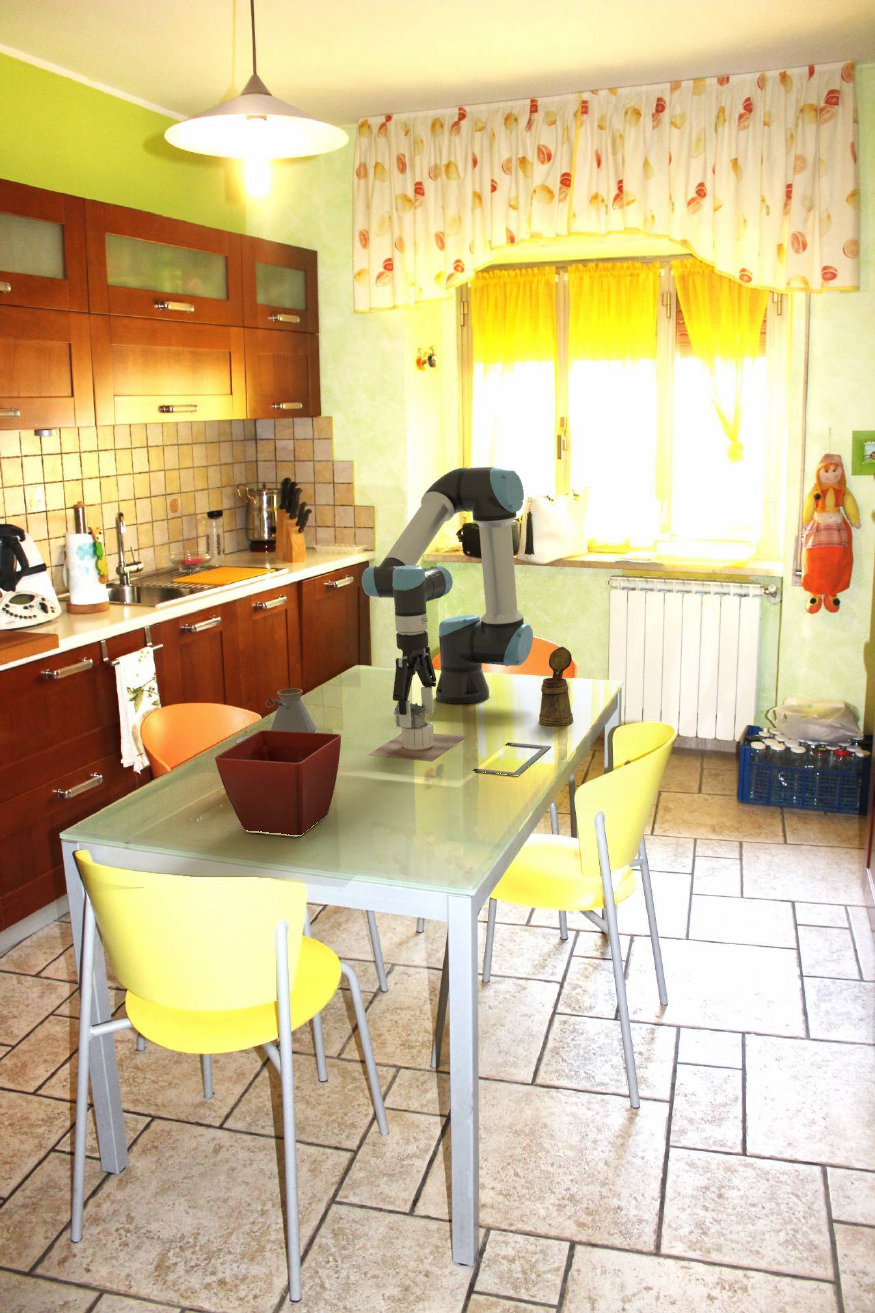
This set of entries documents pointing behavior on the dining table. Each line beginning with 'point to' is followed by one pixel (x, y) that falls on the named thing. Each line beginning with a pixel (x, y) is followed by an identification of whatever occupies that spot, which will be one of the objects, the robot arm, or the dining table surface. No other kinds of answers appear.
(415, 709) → the egg carton
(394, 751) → the walnut board
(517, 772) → the mat border
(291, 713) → the coffee pot
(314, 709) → the dining table surface
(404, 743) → the cream hollow cylinder
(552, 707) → the wooden mug
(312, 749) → the plant pot
